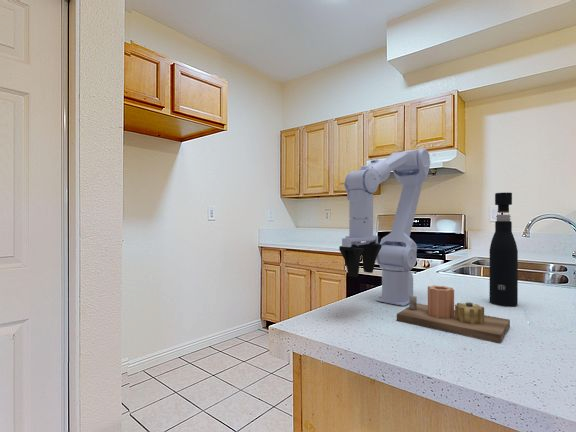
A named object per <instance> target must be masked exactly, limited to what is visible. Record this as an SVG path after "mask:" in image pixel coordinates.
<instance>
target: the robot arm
mask: <svg viewBox="0 0 576 432" xmlns="http://www.w3.org/2000/svg"><path fill="white" fill-rule="evenodd" d="M430 167H431V157H430V153H429V151H428V150H427V148H425V147H420V148H417V149H410V150H404V151H399V152H398V151H396V152H393V153H390V154H389V156H388V157H386V158H385V159H384V160H383V159H378V158H374V159H371V160H370V163H369V164H364V165H362V166H361V167H360V169H358V170H353V171H352V170H351V171H350V172H348V174H347V175H346V176H345V180H344V181H343V186H344V189H345V192H346V199H347V200H348V202H349V203H348V208H349V209H348V213H349V215H348V217H349V218H348V222H349V224H348V226H349V227H348V228H349V230H348V231H349V233H348V235H346V236H345V237H343V238H341V245H340V246H339V247H338V248H339V251H340V253H341V255H342V257H343V259H344V263H345V265H346V266H345V267H346V269H347V274H348V277H351V278H358V277H359V273H360V262H361V259H362V268H363V273H369V274H372V273H373V272H374V270H375V264H376V263H377V265H379V269H381V297H378V298H376V299H375V300H376V302H380V303H386V304H390V305H397V306H401V307H404V306H407V305H409V296H414V276H413V273H412V272H411V270H412V269H414V267H415V265H416V263H417V256H418V255H417V252H418V245H417V243H416V242H415V241H414V240H413V239H412V238H411V237H410V236H411V233H412V228H413V225H414V220H415V216H416V213H417V208H418V204H419V199H420V195H421V191H422V187H423V183H424V182H425V181H426V180H427V178H428V175H429V171H430ZM391 172H392V173H393V175H394V177H395V180H396V182H397V183H399V184H401V185H402V189H401V193H400V197H399V201H398V204H397V208H396V212H395V215H394V219H393V224H392V226H391V227H392V228H391V231H390V232H389V233H388V234H387V235H385V236H383V237H382V238H381V239H380V243H379V235H374V193H376V192H377V191H378V188H379V185H380V184H381V183H383V182H385V181H386V180H387V179H389V178H390V176H391Z"/></svg>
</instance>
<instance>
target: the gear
mask: <svg viewBox="0 0 576 432" xmlns="http://www.w3.org/2000/svg"><path fill="white" fill-rule="evenodd" d="M427 305H428V313H429V315H430V316H431V315H432V316H436V317H437V318H440V317H442V318H449V317H454V310H455V289H453V287H451V286H450V287H448V286H446V285H434V284H433V285H432V286H430V285H429V286H427Z"/></svg>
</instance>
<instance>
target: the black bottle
mask: <svg viewBox="0 0 576 432" xmlns="http://www.w3.org/2000/svg"><path fill="white" fill-rule="evenodd" d="M494 205H495V206H497V213H498V214H496V219H495V220H496V221H495V223H494V225H495V226H494V228H495V229H494V233H493V236H492V239H491V242H490V246H489V295H488V296H489V299H488V300H489V303H490V304H492V305H496V306H500V307H510V308H511V307H517V306H518V305H519V304H518V303H519V302H518V298H519V297H518V296H519V295H518V294H519V293H518V291H519V289H518V286H519V281H518V280H519V277H518V275H519V274H518V270H519V269H518V264H519V262H518V261H519V260H518V259H519V256H518V255H519V254H518V253H519V252H518V247H517V242H516V240H515V237H514V234H513V228H512V227H513V222H512V221H511V214H507V213H509V212H510V206H511V205H513V192H496V193H494ZM499 213H503V214H499Z"/></svg>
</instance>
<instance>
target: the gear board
mask: <svg viewBox="0 0 576 432" xmlns="http://www.w3.org/2000/svg"><path fill="white" fill-rule="evenodd" d="M417 300H418V298H417V296H415V295H413V296H409V304H408V305H409V307H407V308H405V309H403V310H401V311H398V313H396V321H397V322H402V323H407V324H412V325H416V326H420V327H425V328H429V329H433V330H438V331H444V332H447V333H453V334H456V333H457V334H456V335H461V334H462V335H461V336H466V337H471V338H476V339H479V340H480V339H481V340H484V341H490V342H494V343H498V344H501V343H502V341H503V340H504V338H505V336H506V335H507V332H508V331H509V329H510V327H511V319H508V318H503V317H498V316H497V317H496V316H490V315H485V307H484V306H481V305H480V304H478V303H472V302H463V303H461V302H457V303H456V304H454V317H449V318H442V317H440V318H437V317H436V316H432V315H431V316H430V315H429V313H428V304H421V303H417Z"/></svg>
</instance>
